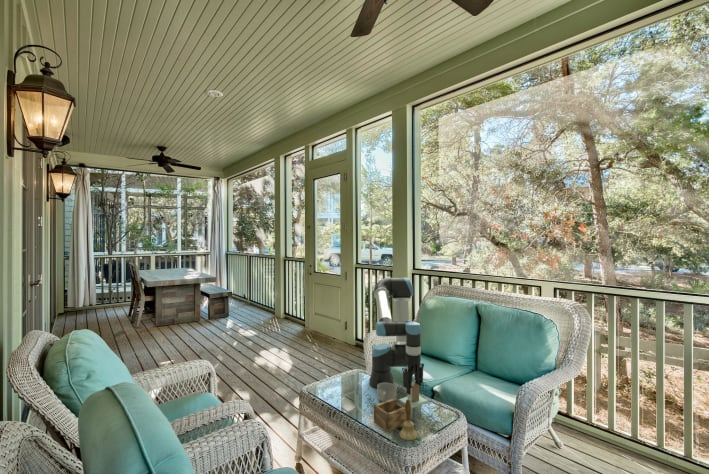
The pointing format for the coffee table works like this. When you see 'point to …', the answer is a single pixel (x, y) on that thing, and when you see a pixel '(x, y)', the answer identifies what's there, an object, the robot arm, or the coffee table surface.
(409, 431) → the hand bell
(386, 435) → the coffee table surface
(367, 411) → the coffee table surface
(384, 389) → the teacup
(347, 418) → the coffee table surface
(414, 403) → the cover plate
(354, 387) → the coffee table surface
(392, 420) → the open box
